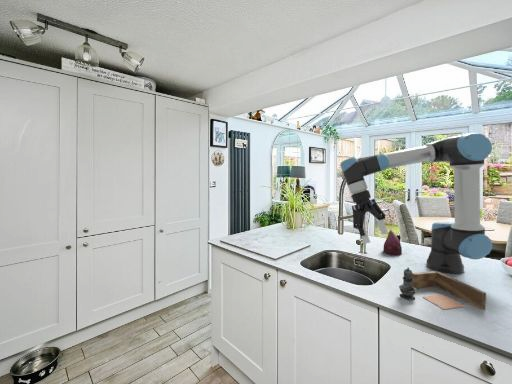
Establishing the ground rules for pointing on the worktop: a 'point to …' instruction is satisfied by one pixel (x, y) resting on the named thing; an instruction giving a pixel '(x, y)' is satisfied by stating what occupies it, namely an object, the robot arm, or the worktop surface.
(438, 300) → the tile
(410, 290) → the grey stone statuette
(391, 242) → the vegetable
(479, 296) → the wooden corner wall
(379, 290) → the worktop surface
